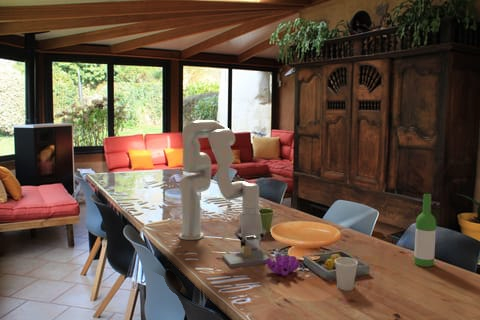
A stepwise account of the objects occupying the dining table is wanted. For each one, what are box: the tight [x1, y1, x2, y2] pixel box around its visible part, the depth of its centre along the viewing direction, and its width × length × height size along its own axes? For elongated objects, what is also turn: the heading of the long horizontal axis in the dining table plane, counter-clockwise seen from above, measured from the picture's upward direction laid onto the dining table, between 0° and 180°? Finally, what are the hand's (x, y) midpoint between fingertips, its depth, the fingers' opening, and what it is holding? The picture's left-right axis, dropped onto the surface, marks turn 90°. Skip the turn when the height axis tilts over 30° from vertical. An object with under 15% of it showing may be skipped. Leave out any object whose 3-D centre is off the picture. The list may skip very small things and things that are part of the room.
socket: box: [244, 235, 261, 251], centre depth 197 cm, size 6×6×6 cm
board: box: [221, 245, 270, 268], centre depth 185 cm, size 12×18×6 cm, turn 109°
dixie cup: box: [334, 257, 358, 291], centre depth 157 cm, size 8×8×10 cm
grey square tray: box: [302, 250, 371, 282], centre depth 176 cm, size 19×19×4 cm
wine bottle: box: [413, 193, 437, 268], centre depth 179 cm, size 8×8×30 cm
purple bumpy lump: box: [265, 254, 302, 277], centre depth 171 cm, size 11×15×10 cm
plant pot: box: [259, 207, 276, 234], centre depth 227 cm, size 12×12×11 cm
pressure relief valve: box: [324, 254, 341, 270], centre depth 174 cm, size 6×12×10 cm
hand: (250, 248), depth 197 cm, fingers closed on socket, 6 cm apart
